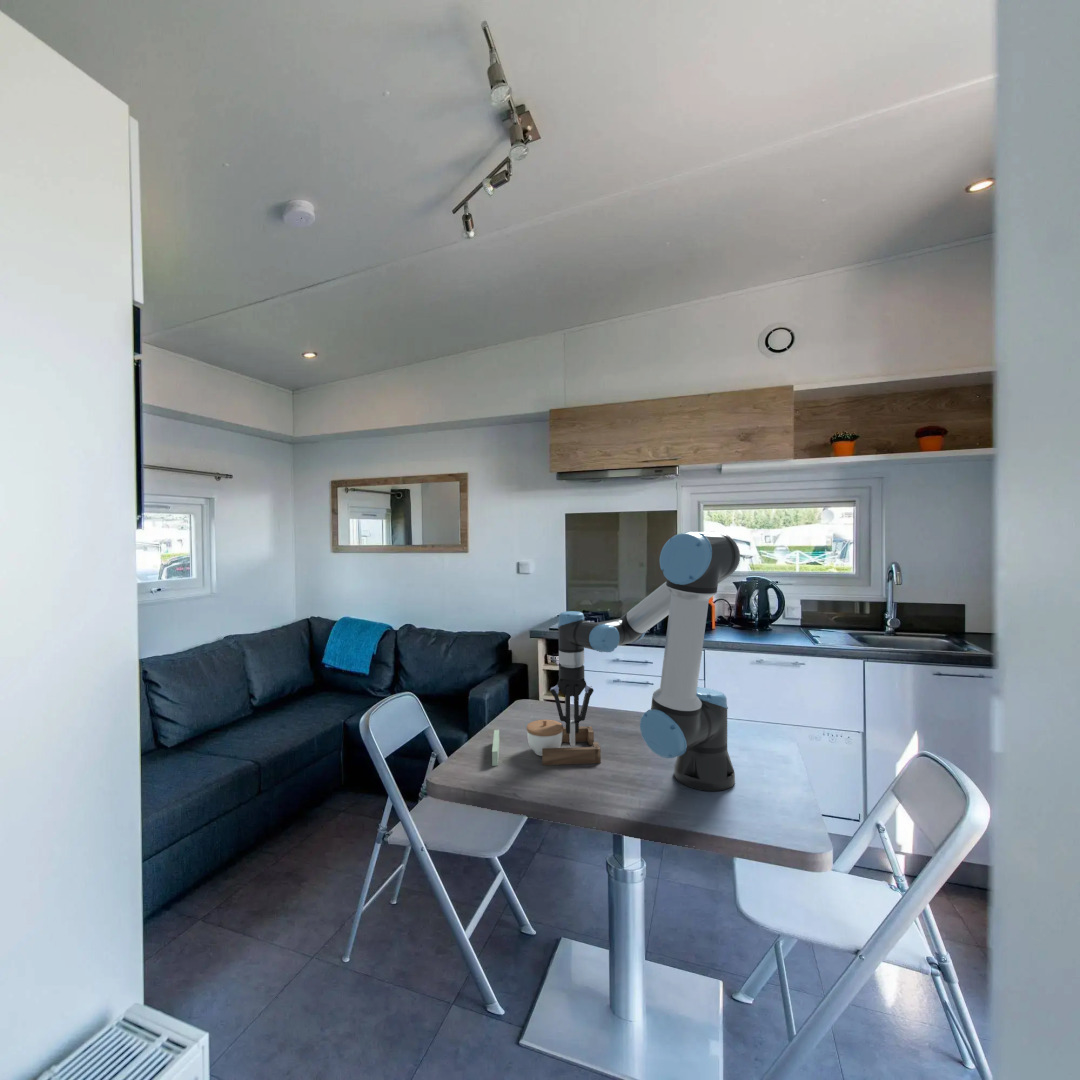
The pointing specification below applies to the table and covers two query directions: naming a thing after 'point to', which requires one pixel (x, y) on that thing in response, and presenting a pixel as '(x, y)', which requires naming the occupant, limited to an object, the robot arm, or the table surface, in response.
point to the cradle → (574, 750)
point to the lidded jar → (544, 735)
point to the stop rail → (495, 748)
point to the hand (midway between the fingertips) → (572, 743)
